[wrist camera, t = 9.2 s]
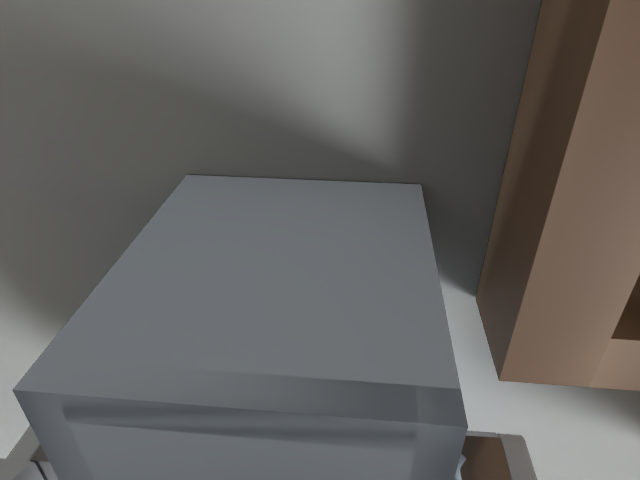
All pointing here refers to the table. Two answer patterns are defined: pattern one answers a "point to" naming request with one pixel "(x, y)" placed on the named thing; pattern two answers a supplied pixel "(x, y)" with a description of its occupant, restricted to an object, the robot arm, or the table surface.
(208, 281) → the cover
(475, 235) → the table surface
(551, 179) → the socket board
